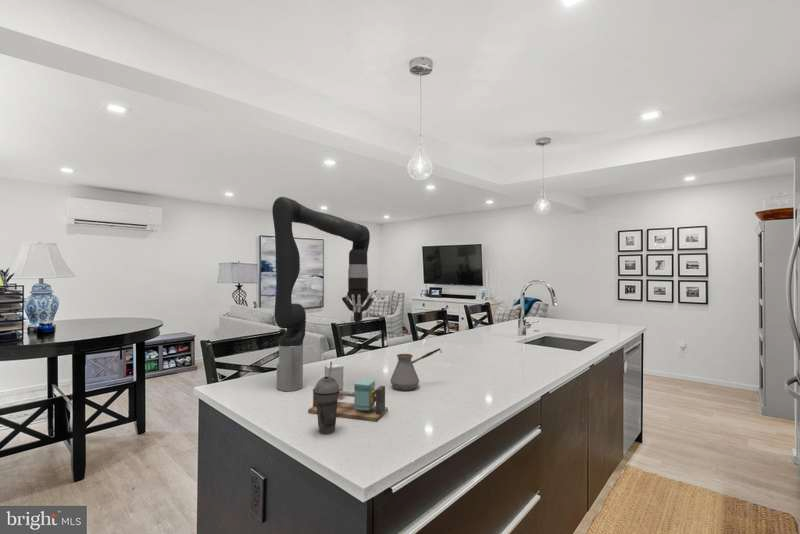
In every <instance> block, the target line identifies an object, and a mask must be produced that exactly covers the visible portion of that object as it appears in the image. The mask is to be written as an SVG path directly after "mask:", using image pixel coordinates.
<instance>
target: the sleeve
mask: <svg viewBox="0 0 800 534" xmlns="http://www.w3.org/2000/svg"><path fill="white" fill-rule="evenodd" d="M375 383H376V382H375V380H368V379H359V380H358V381H356V382H355V383H354V384H353V385H354V391H353V392H354V397H353V398H354V399H353V400H354V409H361V410H370V409H371V408H372V407H373V406H376V401H375V402H374V403H373V404H370V392H371V391H372V390H373V389H376V385H375Z"/></svg>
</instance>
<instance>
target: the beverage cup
mask: <svg viewBox="0 0 800 534" xmlns="http://www.w3.org/2000/svg"><path fill="white" fill-rule="evenodd" d="M332 364H333V361H330V362H329V365H330V369H329V377H325V376H324V377H321V378H320V379H319V380H317V382H316V385H315V387H314V388H315V391H314V393H315V398H316V403H317V414H316V415H317V416H316V417H317V426H318V433H319V434H322V435H331V434H333V433H335V430H336V429H335V428H336V425H337V424H336V423H337V421H336V420H337V417H336V413H337V402H339V401H338V400H339V399H338V396H339V391H340V390H339V386H338V383H337V381H336V380H335V379H334V378H332V377H330V375H331V367H332Z"/></svg>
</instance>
